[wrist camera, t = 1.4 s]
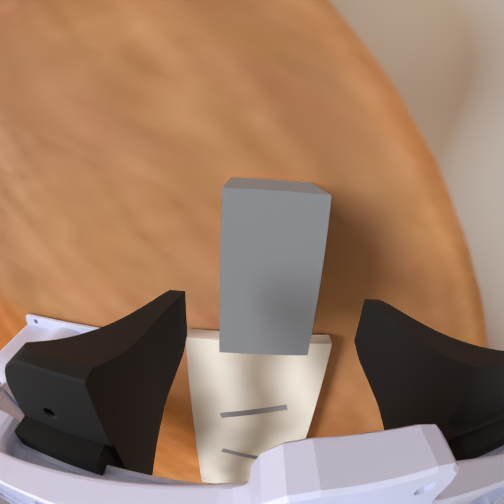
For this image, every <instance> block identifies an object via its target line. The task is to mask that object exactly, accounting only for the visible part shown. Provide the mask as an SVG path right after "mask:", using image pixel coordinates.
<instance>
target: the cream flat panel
mask: <svg viewBox="0 0 504 504" xmlns="http://www.w3.org/2000/svg"><path fill="white" fill-rule="evenodd" d="M331 347H332V342H331V339H330V336H329V335H311V340H310V345H309V351H308V355H263V354H242V353H225V352H219V331H214V330H201V329H189V328H188V331H187V338H186V353H187V365H188V376H189V386H190V396H191V405H192V414H193V422H194V430H195V438H196V445H197V452H198V459H199V466H200V472H201V478H202V482H207V483H232V482H243V481H249V479H250V472H251V466H252V464H253V463H254V462H255V460H256V459H257V458H258V456H259V455H260V454H261V453H263V452H264V451H266V450H269V449H271V448H273V447H275V446H278V445H280V444H282V443H284V442H289V441H295V440H301V439H306V436H307V433H308V430H309V426H310V423H311V420H312V417H313V413H314V410H315V407H316V403H317V400H318V396H319V393H320V389H321V386H322V382H323V378H324V374H325V371H326V367H327V363H328V359H329V355H330V351H331Z"/></svg>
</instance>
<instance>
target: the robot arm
mask: <svg viewBox="0 0 504 504" xmlns="http://www.w3.org/2000/svg"><path fill="white" fill-rule="evenodd" d="M26 320H27V325H26V326H25V327H24V328H23V329H22V330H21V331H20V332H19V333H18V334H17V335H16V336H15V337H14V338H13V339H12V340H11V341H10V342H9V343H8V344H7V345H6V346H5V347H4V348H3V349H2V350H1V351H0V504H503V503H504V351H499V350H493V349H488V348H483V347H479V346H475V345H472V344H469V343H465V342H462V341H459V340H456V339H454V338H451V337H449V336H446V335H444V334H442V333H439V332H437V331H435V330H433V329H431V328H429V327H427V326H425V325H424V324H422V323H420V322H418V321H416V320H415V319H413V318H411V317H409V316H408V315H406V314H404V313H403V312H401V311H399V310H397V309H396V308H394V307H392V306H391V305H389V304H387V303H385V302H383V301H380V300H370V299H365V301H364V305H363V309H362V313H361V317H360V321H359V325H358V329H357V333H356V337H355V340H354V341H355V345H356V349H357V353H358V357H359V360H360V363H361V365H362V368H363V370H364V372H365V375H366V377H367V379H368V382H369V384H370V386H371V389H372V391H373V393H374V396H375V398H376V401H377V404H378V407H379V410H380V414H381V418H382V422H383V426H384V430H383V431H376V432H369V433H361V434H352V435H342V436H331V437H316V438H307V439H301V440H295V441H289V442H284V443H282V444H280V445H278V446H275V447H273V448H271V449H269V450H266V451H264V452H263V453H261V454H260V455H259V456H258V458H257V459H256V460H255V462H254V463H253V464H252V466H251V472H250V479H249V481H243V482H232V483H217V484H203V483H194V482H187V481H180V480H173V479H168V478H162V477H157V476H152V473H153V465H154V458H155V452H156V445H157V440H158V434H159V429H160V424H161V420H162V415H163V411H164V406H165V402H166V399H167V396H168V393H169V391H170V388H171V385H172V382H173V380H174V377H175V375H176V372H177V369H178V367H179V364H180V361H181V358H182V356H183V352H184V348H185V343H186V338H187V322H186V303H185V291H175V290H169V291H167V292H166V293H164V294H162V295H161V296H159V297H158V298H156V299H154V300H153V301H151V302H150V303H148V304H147V305H145V306H143V307H142V308H140V309H138V310H137V311H135V312H133V313H131V314H129V315H128V316H126V317H124V318H122V319H120V320H118V321H116V322H114V323H111V324H109V325H106V326H104V327H101V328H99V327H93V326H88V325H82V324H77V323H71V322H66V321H61V320H56V319H51V318H47V317H42V316H38V315H33V314H28V315H26Z"/></svg>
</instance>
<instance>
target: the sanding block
mask: <svg viewBox="0 0 504 504" xmlns="http://www.w3.org/2000/svg"><path fill="white" fill-rule="evenodd" d="M331 197H332V195H330V194H329V193H327V192H326V191H324V190H322V189H320V188H319V187H317V186H315V185H314V184H312V183H310V182H305V181H294V180H280V179H266V178H248V177H231V178H230V180H229V181H228V182H227V183H226V184H225V185H224V186H223V188H222V213H221V248H220V311H219V352H225V353H242V354H263V355H308V351H309V345H310V340H311V335H312V330H313V324H314V318H315V313H316V307H317V301H318V295H319V288H320V282H321V276H322V269H323V262H324V255H325V247H326V240H327V232H328V224H329V215H330V206H331Z"/></svg>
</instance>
